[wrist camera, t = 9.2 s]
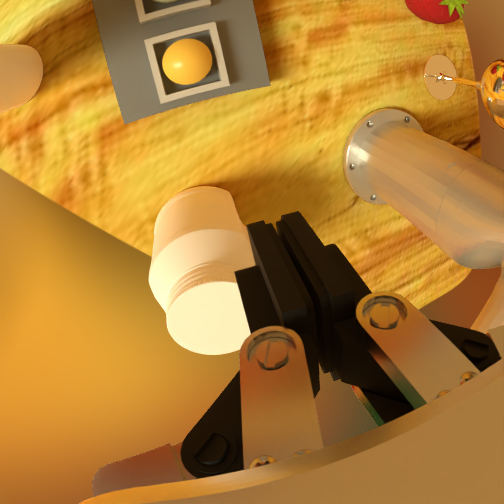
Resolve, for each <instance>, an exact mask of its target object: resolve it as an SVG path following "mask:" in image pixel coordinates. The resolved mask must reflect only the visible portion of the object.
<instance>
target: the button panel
mask: <svg viewBox="0 0 504 504" xmlns="http://www.w3.org/2000/svg"><path fill="white" fill-rule="evenodd" d="M92 2H93V7H94V11H95V16H96V20H97V24H98V29H99V33H100V37H101V41H102V45H103V49H104V53H105V57H106V61H107V65H108V68H109V72H110V76H111V79H112V83H113V86H114V90H115V93H116V97H117V100H118V104H119V107H120V110H121V114H122V117H123V120H124V123H125V124H127V123H130V122H133V121H136V120H139V119H142V118H145V117H148V116H151V115H154V114H157V113H160V112H164V111H167V110H170V109H174V108H177V107H181V106H184V105H188V104H191V103H195V102H199V101H203V100H207V99H210V98H215V97H219V96H223V95H227V94H232V93H236V92H241V91H245V90H250V89H255V88H260V87H266V86H271V85H270V80H269V75H268V70H267V65H266V60H265V55H264V50H263V46H262V41H261V36H260V32H259V27H258V23H257V18H256V14H255V9H254V5H253V1H252V0H179V1H176V2H173V3H167V4H163V3H157V2H155V1H153V0H92ZM182 39H195V40H198V41H201V42H202V43H204V44H205V45H206V46H207V47H208V48H209V50H210V52H211V55H212V66H211V69H210V71H209V72H208V74H207V75H206V76H205V77H204V78H203V79H202V80H200V81H199V82H196V83H194V84H188V85H183V84H178V83H175V82H173V81H172V80H170V79H169V78H168V77H167V76H166V74H165V72H164V70H163V66H162V60H163V56H164V53H165V52H166V50H167V49H168V48H169V47H170V46H171V45H172V44H173V43H175V42H177V41H179V40H182Z"/></svg>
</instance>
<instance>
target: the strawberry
mask: <svg viewBox="0 0 504 504" xmlns="http://www.w3.org/2000/svg"><path fill="white" fill-rule="evenodd" d="M405 2H406V5H407V7H408V8H409V10H410V11H411V12H413V13H414V14H415V15H416V16H417V17H419V18H421V19H423V20H426V21H429V22H432V23H436V24H446V23H450V22H454V21H456V20H457V19H458V18H459V17H461V19H462V13H463V14H464V12H463V6H464V5H463V4H466V3H468V2H467V1H466V0H405Z"/></svg>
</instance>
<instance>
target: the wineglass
mask: <svg viewBox="0 0 504 504" xmlns="http://www.w3.org/2000/svg"><path fill="white" fill-rule="evenodd" d="M423 77H424V83H425V86H426V88H427V90H428V92H429V93H430V94H431V95H432V96H433V97H434V98H436V99H439V100H445V99H448V98H449V97H451V96H452V94H453V93H454V91H455V89H456V85H457V83H458V84H463V85H467V86H471V87H474V88H478V89H479V90H480V92H481V96H482V100H483V103H484V105H485V108H486V110H487V112H488V113H489V115H490V116H491V118H492V119H493V120H494V121H495V122H496V123H497V124H498V125H499V126H500V127H501V128H503V129H504V58H502V59H498V60H496V61H494V62H493V63H492V64H490V65H489V67H488V68H487V69H486V70H485V72H484V74H483V76H482V79H481V81H479V82H476V81H471V80H467V79H462V78H458V77H457V74H456V70H455V67H454V65H453V63H452V62H451V61H450V60H449V59H448V58H447V57H445V56H443V55H439V54H438V55H433V56H431V57H430V58H429V59H428V60H427V62H426V64H425V67H424V73H423Z"/></svg>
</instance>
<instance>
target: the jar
mask: <svg viewBox="0 0 504 504" xmlns="http://www.w3.org/2000/svg"><path fill="white" fill-rule="evenodd" d="M154 235H155V237H154V245H153V254H152V263H151V267H150V273H149V284H150V287H151V289H152V292H153V294H154V296H155V298H156V299H157V301H158V302H159V303H160V305H161V306H162V308H163V309H164V310H165V312H166V317H167V327H168V330H169V332H170V335H171V336H172V337H173V339H174V340H175V341H176V342H177V343H178V344H179V345H181V346H182V347H184V348H186V349H188V350H190V351H193V352H197V353H200V354H209V355H218V354H225V353H230V352H233V351H236V350H239V349H241V346H242V344H243V342H244V340H245V339H246V338H247V337H248V336H249V335H250V334H251V333H250V330H249V326H248V322H247V319H246V315H245V311H244V307H243V304H242V300H241V296H240V292H239V289H238V285H237V281H236V277H235V273H234V271H238V270H241V269H245V268H249V267H252V266H256V265H255V261H254V257H253V252H252V248H251V244H250V240H249V235H248V231H247V227H246V226H245V225H244V224H243V223H242V222H241V220H240V218H239V216H238V213H237V210H236V207H235V203H234V200H233V198H232V196H231V194H230V192H229V191H227V190H224V189H221V188H218V187H212V186H199V187H193V188H189V189H187V190H184V191H182V192H180V193H178V194H176V195H175V196H173V197H172V198H171V199H170V200H169V201H168V202H167V203H166V204H165V205H164V206H163V208H162V209H161V211H160V213H159V215H158V217H157V220H156V224H155V230H154Z"/></svg>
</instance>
